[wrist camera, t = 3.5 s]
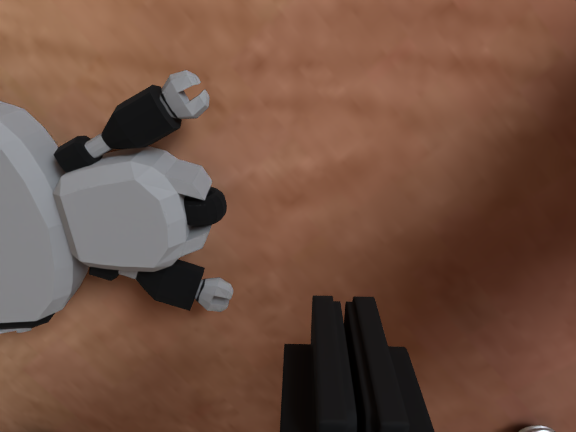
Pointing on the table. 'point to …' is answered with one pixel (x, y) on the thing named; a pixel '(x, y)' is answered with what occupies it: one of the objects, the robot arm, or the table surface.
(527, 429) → the lightbulb
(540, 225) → the table surface
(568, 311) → the table surface
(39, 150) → the robot toy
